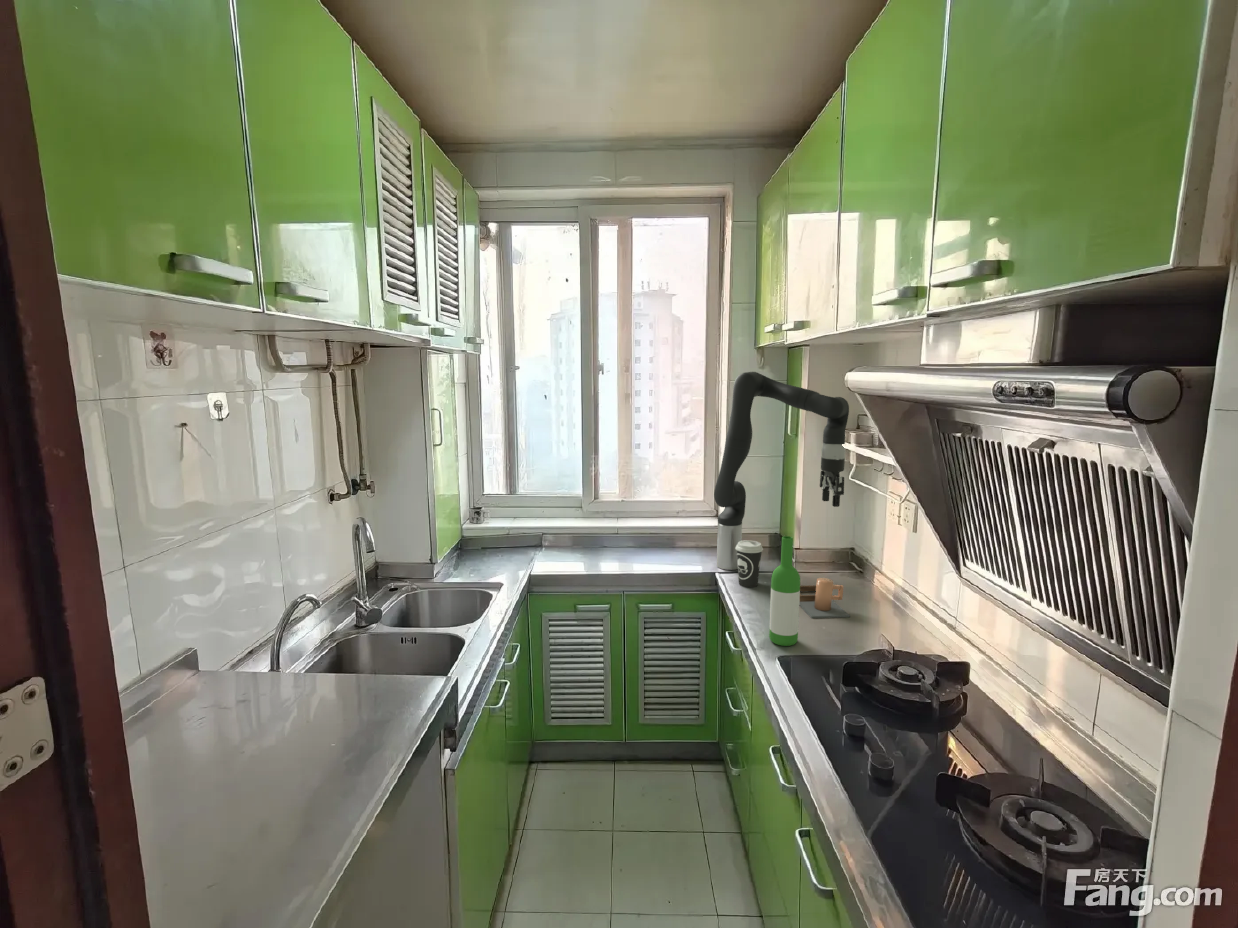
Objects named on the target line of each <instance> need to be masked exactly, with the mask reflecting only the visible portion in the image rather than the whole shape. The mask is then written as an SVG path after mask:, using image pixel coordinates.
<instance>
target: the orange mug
mask: <svg viewBox="0 0 1238 928" xmlns="http://www.w3.org/2000/svg"><path fill="white" fill-rule="evenodd" d="M815 585H816V592H815V594H814V595H815V604H814V607H815V608H816V609H818V610H822V611H829V610H831V603H832V601H834V600H835V601H843V598H844V597H843V596H844V585H843V584H834V580H832V579H830V578H827V577H818V578H816V583H815ZM834 590H837V591H838V592H837V595H836V594H835V595H833V591H834Z"/></svg>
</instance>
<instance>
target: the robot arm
mask: <svg viewBox="0 0 1238 928" xmlns="http://www.w3.org/2000/svg"><path fill="white" fill-rule="evenodd" d="M732 389H733V390H732V400H731V401H732V402H731V411H730V416H729V420H728V428H727V433H726V438H725V444H724V450H723V454H722V458H721V459H722V460H721V464H720V469H719V474H718V476H717V480H716V483H715V486H714V491H713V497H714V501H715V504H716V505H717V506H718V507H720V508H724V509H723V511H721V512H720V514H718V516H717V541H716V544H717V545H716V546H717V547H716V567H717V568H718V569H722V570H728V571H731V570H732V571H735V570H738V561H737V550H736V549H735V548H736V545H737V544H738V542H739V541H743V540H742V537H743V519H744V517H745V512H746V503H747V501H746V499H747V496H746V495H747V494H746V492H747V491H746V489H745V486H744V485H743V483H742V482H740V481H738V480H737V481H736V478H737V477H736V476H737V474H738V471H739V470H740V468H741V467H742V465H743V464H744V462H745V460H746V459H747V457H748V456H749V453H750V450H751V446H752V440H753V427H752V425H753V424H752V419H751V414H752V413H751V411H752V407H753V402H754V399H755V397H764V398H770V399H774V400H776V401H780V402H782V403H783V404H786V405H787V406H790V407H793V408H796V409H799V410H803V411H806V412H810V413H814V414H815V415H818V416H821V417H824V418H826V419H827V420H826V426H824V429H823V433H822V447H821V456H820V457H821V458H820V477H819V478H820V479H819V488H821V491H822V494H821V495H822V497H821V500H822V501H823V502H830V492H831V493H832V503H831V505H832V507H834V508H835V507H836V508H838V507H840V505H841V496H843V495H844V494H845V477H844V476H841V475H840V472H841V473H842V472H844V471H845V463H846V462H845V460H846V447H845V448H844V447H843V446H842V444H845V445H846V429H847V428H846V427H847V424H848V420H849V415H850V414H849V413H850V405H849V402H848V401H847V399H845V398H844V397H841V396H835V397H833V396H828V395H825V394H821V393H819V392H817V391H815V390H811V389H808V388H803V387H800V386H795V385H791V384H788V383H787V384H786V383H784V382H780V381H777V380H775V379H772V378H770V377H768V376H766V375H764V374H761V373H759V372H756V371H747V372H742V373H740V374H739V375H737V377H736V378H735V380H734V382H733V387H732Z"/></svg>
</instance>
